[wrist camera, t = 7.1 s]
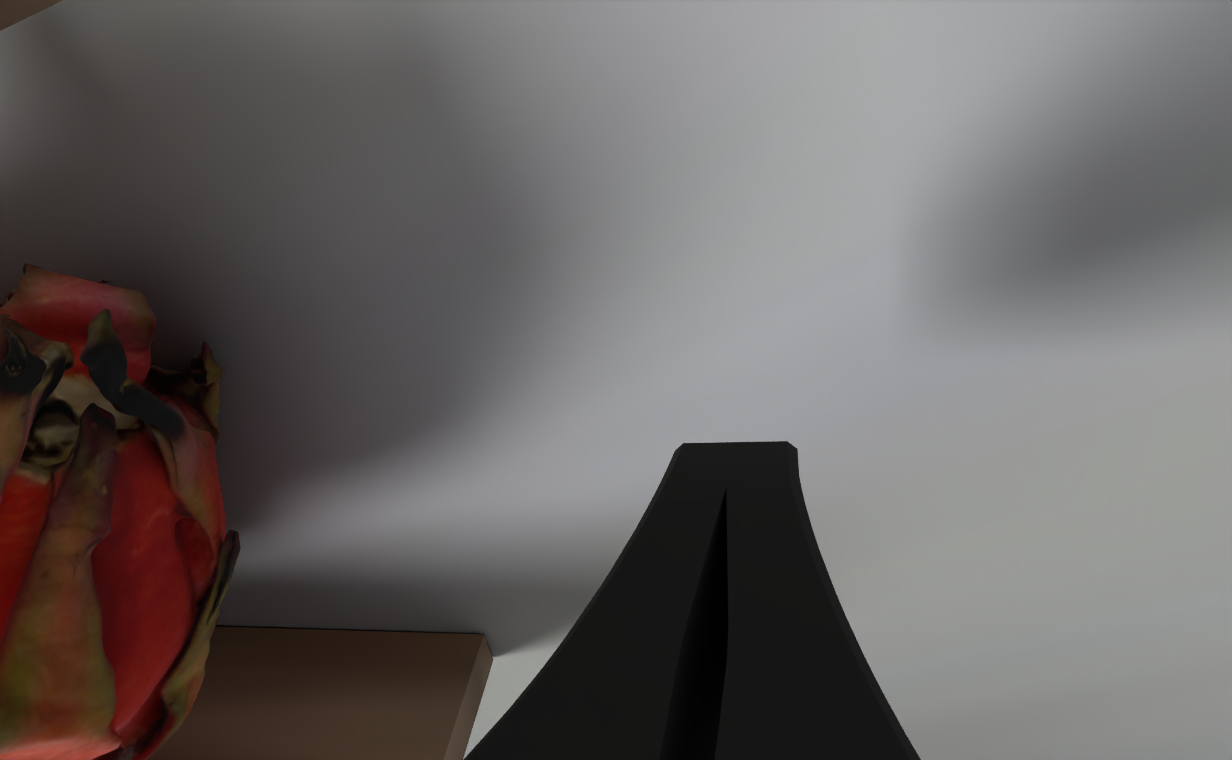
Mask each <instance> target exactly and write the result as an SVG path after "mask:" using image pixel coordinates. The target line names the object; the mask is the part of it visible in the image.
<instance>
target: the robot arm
mask: <svg viewBox="0 0 1232 760" xmlns="http://www.w3.org/2000/svg"><path fill="white" fill-rule="evenodd" d="M464 760H921V759H920V758H919V756H918V754H917V753H916V751H915V749H914V748H913V746H912V744H911V742H910V741H909V739H908V737H907V736H906V734H905V732H904V730H903V729H902V727H901V725H900V723H899V721H898V720H897V718H896V716H895V714H894V712H893V710H892V709H891V707H890V705H889V703H888V701H887V700H886V698H885V696H884V694H883V692H882V690H881V688H880V686H879V684H878V682H877V681H876V679H875V677H874V675H873V673H872V671H871V669H870V667H869V665H868V663H867V661H866V659H865V657H864V655H863V652H862V650H861V648H860V646H859V644H858V642H857V640H856V637H855V635H854V633H853V631H852V629H851V627H850V624H849V622H848V620H847V618H846V616H845V613H844V611H843V609H842V606H841V604H840V602H839V599H838V597H837V595H836V592H835V590H834V587H833V584H832V582H831V579H830V577H829V574H828V571H827V569H826V566H825V563H824V561H823V558H822V556H821V553H820V550H819V548H818V545H817V542H816V539H815V536H814V533H813V530H812V526H811V523H810V519H809V516H808V512H807V509H806V505H805V501H804V497H803V493H802V489H801V483H800V478H799V467H798V452H797V448H795V447H794V446H793V445H791V444H790V443H789V442H787V441H779V442H726V443H683V444H682V445H681V446H680V447H679V448H678V449H676V450H675V452H674V454H673V457H672V459H671V461H670V464H669V466H668V468H667V470H666V472H665V474H664V476H663V478H662V481H661V483H660V485H659V487H658V489H657V491H656V493H655V494H654V496H653V498H652V500H651V502H650V504H649V506H648V508H647V509H646V511H645V513H644V515H643V517H642V519H641V520H640V522H639V524H638V526H637V528H636V529H635V531H634V533H633V534H632V536H631V538H630V539H629V541H628V543H627V544H626V546H625V548H624V549H623V551H622V553H621V554H620V556H619V558H618V559H617V561H616V563H615V564H614V566H613V568H612V569H611V571H610V573H609V574H608V576H607V577H606V579H605V580H604V582H603V584H602V585H601V587H600V588H599V590H598V591H597V592H596V594H595V595H594V597H593V598H592V600H591V601H590V603H589V604H588V606H587V607H586V608H585V610H584V611H583V613H582V614H581V616H580V617H579V619H578V620H577V621H576V623H575V624H574V626H573V627H572V629H571V630H570V632H569V633H568V635H567V636H566V637H565V639H564V640H563V641H562V643H561V644H560V646H559V647H558V648H557V649H556V651H555V652H554V653H553V655H552V656H551V657H550V659H549V660H548V661H547V663H546V664H545V665H544V667H543V668H542V669H541V670H540V672H539V673H538V674H537V676H536V677H535V678H534V679H533V680H532V682H531V683H530V684H529V685H528V687H527V688H526V689H525V690H524V691H523V693H522V694H521V695H520V696H519V698H518V699H517V700H516V701H515V702H514V704H513V705H512V706H511V707H510V708H509V710H508V711H507V712H506V713H505V714H504V715H503V716H502V717H501V719H500V720H499V721H498V722H497V723H496V724H495V725H494V726H493V728H492V729H491V730H490V731H489V732H488V733H487V734H486V735H485V736H484V738H483V739H482V740H481V741H480V742H479V743H478V744H477V745H476V746H475V748H474V749H473V750H472V751H471V752H470V753H469V754H468V755H467V756H466V757H465V759H464Z"/></svg>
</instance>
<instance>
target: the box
mask: <svg viewBox="0 0 1232 760" xmlns="http://www.w3.org/2000/svg"><path fill="white" fill-rule="evenodd" d="M60 1H62V0H0V30H3V29H5V28H7V27H9V26H11V25H13V24H15V23H17V22H19V21H21V20H23V19H25V18H27V17H29V16H31V15H33V14H35V13H37V12H40V11H42V10H44V9H46V8H48V7H50V6H52V5H54V4H56V3H58V2H60ZM492 662H493V657H492V655H491V652H490V650H489V647H488V644H487V642H486V639H485V636H484V635H482V634H448V633H414V632H381V631H347V630H313V629H279V628H246V627H215V628H214V631H213V634H212V636H211V638H210V651H209V654H208V657H207V659H206V661H205V676H204V679H203V682H202V684H201V687H200V690H199V692H198V694H197V697H196V699H195V701H194V703H193V706H192V708H191V710H190V712H189V714H188V715H187V716H186V718H185V719H184V721H183V723H182V724H181V725H180V727H179V728H178V729H177V730H176V731H175V732H174V733H173V734H172V735H171V737H170V738H169V739H168V740H167V741H166V742H165V743H164V744H163V745H162V746H161V747H160V748H159V749H158V750H157V751H155V752H154V753H153V754H152V755H151V756H150V757H149V758H147V759H146V760H463V757H464V754H465V751H466V748H467V744H468V741H469V738H470V734H471V731H472V728H473V725H474V721H475V718H476V715H477V711H478V708H479V705H480V702H481V698H482V695H483V692H484V688H485V685H486V682H487V679H488V675H489V672H490V669H491V665H492Z"/></svg>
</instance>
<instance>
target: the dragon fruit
mask: <svg viewBox="0 0 1232 760" xmlns="http://www.w3.org/2000/svg"><path fill="white" fill-rule="evenodd" d="M23 273H24V275H23V276H22V278H21V279H20V281H19V284H18V287H17V288H16V289H13V290H12V291H11V292H10V293H9V294H8V295H7V298H8V302H7V303H5V304H1V305H0V760H146V759H147V758H149V757H150V756H151V755H152V754H153V753H154V752H155V751H157V750H158V749H159V748H160V747H161V746H162V745H163V744H164V743H165V742H166V741H167V740H168V739H169V738H170V737H171V735H172V734H173V733H174V732H175V731H176V730H177V729H178V728H179V727H180V725H181V724H182V723H183V721H184V719H185V718H186V716H187V715H188V714H189V712H190V710H191V708H192V706H193V703H194V701H195V699H196V697H197V694H198V692H199V690H200V687H201V684H202V682H203V679H204V676H205V661H206V659H207V657H208V654H209V651H210V638H211V636H212V634H213V631H214V628H215V626H216V623H217V620H218V617H219V615H220V614H221V612H220V611H219V610H218V609H219V607H220V605H221V602H222V600H223V598H224V596H225V594H226V593H227V590H228V587H229V584H230V580H231V577H232V574H233V571H234V567H235V564H236V561H237V558H238V555H239V552H240V541H239V533H238V532H237V531H234V530H230V531H229V532H228V533H227V534H226V537H225V529H226V516H225V511H224V506H223V497H222V490H221V486H220V479H219V476H218V470H217V460H216V451H215V444H216V442H217V439H218V437H219V435H220V426H219V422H218V410H219V408H220V392H219V381H220V379H221V377H222V375H223V373H224V372H223V370H222V368H221V367H220V366H219V365H218V364H217V363H216V361H215V360H214V358H213V355H212V351H211V350H210V348H209V346H208V344H207V343H206V342H203V346H202V350H201V354H200V355H199V356H198V357H197V358H193V359H192V360H191V364H190V366H189V368H188V369H187V370H185V371H182V372H176V371H170V370H165V369H162V368H159V367H157V366H154V365H150V364H151V351H150V346H151V343H152V342H153V338H154V334H155V329H156V317H155V316H154V314H153V312H152V311H151V309H150V306H149V304H148V301H147V299H146V297H145V296H144V295H143V294H142V293H141V292H140V291H137V290H131V289H126V288H121V287H115V286H110V285H106V283H109V281H104V280H102V282H94V281H89V280H85V279H82V278H78V277H73V276H68V275H64V274H60V273H56V272H52V271H49V270H46V269H43V268H40V267H37V266H34V265H30V264H25V265H24V268H23ZM87 276H88V275H87ZM100 280H101V279H100Z"/></svg>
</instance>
